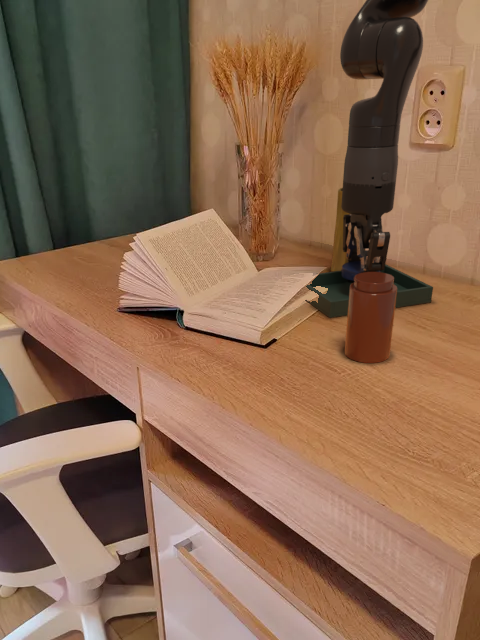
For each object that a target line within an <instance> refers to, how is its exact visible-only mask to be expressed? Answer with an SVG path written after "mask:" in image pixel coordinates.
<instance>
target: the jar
mask: <svg viewBox="0 0 480 640" xmlns="http://www.w3.org/2000/svg"><path fill="white" fill-rule="evenodd" d="M396 296H397V286H396V285H394V277H393V276H392V275H389V274H386V273H381V272H363V273H359V274H357V275H356V276H355V277H354V283H352V284H351V285H350V289H349V302H348V315H346V329H345V341H344V355H345V356H346V357H347V358H348V359H350V360H351V361H355V362H359V363H366V364H376V363H382V362H384V361H386V360H388V359H389V357H390V354H391V347H392V346H391V345H392V340H393V339H392V338H393V330H394V329H393V328H394V323H395V322H394V321H395V311H396V308H395V305H396Z"/></svg>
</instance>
